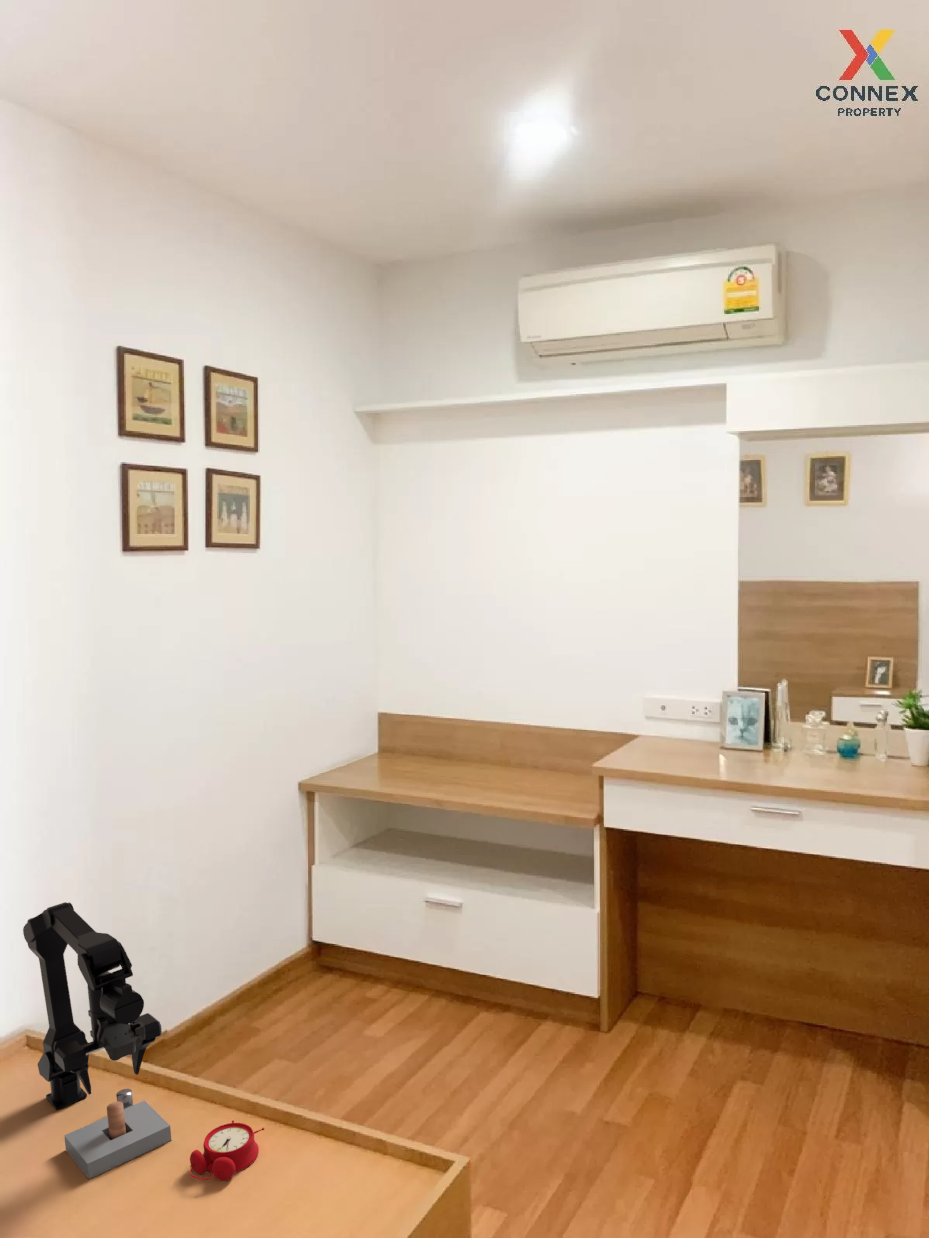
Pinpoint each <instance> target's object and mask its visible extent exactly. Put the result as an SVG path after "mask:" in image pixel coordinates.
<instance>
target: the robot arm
mask: <svg viewBox="0 0 929 1238" xmlns="http://www.w3.org/2000/svg"><path fill="white" fill-rule="evenodd" d="M22 933H23V937H24V940H25V942H26V943H27V946H28V949H29V950H30V951H31V952H32V953H33V954H34V955H35V956H36V957H37V958H38V962H39V968H40V974H41V981H42V987H43V995H44V1000H45V1001H44V1002H45V1006H46V1014H47V1021H48V1029H47V1032H46V1034H45V1036H44V1038H43V1040H42V1041H43V1042H42V1047H43V1053H42V1055H41V1057H40V1059H39V1061H38V1062H37V1068H38V1072H39V1075H40V1076H41V1077H42V1078H43V1079H44V1080H45V1081H47V1082H48V1083H50V1091H51V1092H50V1093H47V1094H46V1095H45V1098H46V1100H47V1101H48V1102H49V1103H50V1104H51V1106H52V1107H53V1108H54V1109H55V1110H59V1109H61V1108H64V1107H66V1106H69V1105H71V1104H73V1103H76V1102H78V1101H80V1100H84V1099H86V1098H87V1097H88V1095H89V1096H90V1095H92V1085H91V1080H90V1075H89V1067H90V1065H89V1060H90V1059H89V1056H90V1055H91V1054H93V1053H95V1052H98V1051H100V1050H103V1049H104V1050H105V1051H106V1053H107V1055H108V1057H109V1060H111V1061H115V1062H116V1061H119V1060H120V1059H122V1058H124V1057H127V1056H131V1061H132V1068H133V1072H134V1074H135V1076H137V1075H139V1074H140V1069H141V1067H142V1062H143V1058H144V1055H145V1053H146V1050H147V1049H148V1047H149V1045H151V1044H152V1043H153V1042H155V1041H156V1038H157V1037H160V1036H161V1035H162V1024H161V1022H160V1021H159V1020H158V1019H157V1018H156V1017H154V1016H153V1015H152V1014H150V1013H149V1012H147V1013H144V1014H142V1012H143V1010H144V1007H145V1001H144V999H143V997H142V995H141V994H140V993H139V992H137V991H135V990H134V989H133V986H132V984H129V983H127V980H126V979H128V978H130V977H134V976H133V975H134V974H133V973H134V972H133V971H132V970H133V969H132V967H133V964H132V962H131V959H130V958H129V956H128V954H127V951H126V950H125V947H124V946H123V945H122V943H121V942H120V941H118V939H116V937H114V936H112V935H111V934H109V933H107V932H106V933H105V932H97V931H96V930H95V929H94V928H93V927H92V926H91V925H90V924H88V922H87V921H85V919H84V918H82V917H81V916H80V914H78V913H77V911H75V909H74V907H73V904H72V903H71V902H69V901H68V902H67V901H66V902H62V903H59V904H55V905H53V906H50V907H47V908H46V909H44V910H43V911H42V912H41V913H39V914H37V915H36V916H34V917H32V918H31V917H30V918H29V919H27V921H26V923H25V924H24V926H23V929H22ZM68 946H69V947H70V948H72V950H73V951H74V952H75V953H76V954H77V959H76V960H77V966H78V969H79V971H80V973H81V975H82V977H83V979H84V980H85V982H86V984H87V996H88V1005H89V1010H87V1013H88V1017H89V1018H90V1025H91V1030H90V1031H89V1033H90V1037H91V1038H92V1041H90V1042H88V1040H87V1039H86V1033H85V1032H84V1031H83V1030H81V1029H80V1027H78V1025H77V1024H75V1022H74V1021H75V1020H74V1016H73V1009H72V1003H71V1002H72V1000H71V997H70V988H69V982H68V975H67V969H66V962H65V952H66V950H67V947H68ZM120 967H121V968H120ZM117 968H120V969H117ZM115 969H117V970H115ZM111 970H115V971H113V972H111ZM81 1083H82V1085H83V1087H84V1089H85V1090H84V1089H83V1088H82V1087H81Z"/></svg>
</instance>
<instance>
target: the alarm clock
mask: <svg viewBox="0 0 929 1238" xmlns="http://www.w3.org/2000/svg"><path fill="white" fill-rule="evenodd" d="M261 1131H265V1128H264V1127H262V1128H260V1129H258V1130H256V1131H254V1130H253V1128H252V1126H250V1125H248V1124H246V1123H242V1122H235V1120H231V1123H226V1124H221V1125H219V1126H217V1127H216V1128H213V1129H212V1130H210V1132H209V1133H207V1135H206V1136H205V1137H204V1140H203V1153H202V1152H201V1151H200V1150H198V1149H195V1150H193V1151H192V1152H191V1154H190V1156H189V1162H190V1163H189V1164H190V1168H191V1169H190V1171H189V1175H190V1177H193V1179H197V1180H200V1181H201V1180H202V1181H207V1180H211V1179H213V1178H215V1179H216V1180H219V1181H229V1180H230V1179H232V1178H233V1176H235V1174H236V1173H237V1172H241V1171H243V1170H244V1169H247V1168H248V1167H249V1166H250V1165H252V1164H253V1163H254V1162H255V1161H256V1159H257V1158H258V1156H259V1150H260V1149H259V1145H258V1143H257V1142H256V1139H255V1134H257V1133H259V1132H261ZM193 1172H194V1173H196V1174H197V1175H203V1174H206V1172H208V1173H210V1174H212V1176H210V1177H199V1176H195V1175H194V1174H193Z"/></svg>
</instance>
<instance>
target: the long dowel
mask: <svg viewBox="0 0 929 1238" xmlns="http://www.w3.org/2000/svg"><path fill="white" fill-rule="evenodd" d="M106 1113H107V1116H108V1126H109V1136H110V1140H113V1139H115V1138H117V1137H120V1136H122V1135H124V1134H126V1128H125V1117H124V1107H123V1103H122V1102H117V1101H114V1102H111V1103H109V1104H108V1105H107V1106H106Z"/></svg>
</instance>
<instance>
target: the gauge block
mask: <svg viewBox="0 0 929 1238" xmlns="http://www.w3.org/2000/svg"><path fill="white" fill-rule="evenodd" d="M124 1117H125V1128H126V1134H124V1135H122V1136H120V1137H117V1138H115V1139H113V1140H110V1136H109V1126H108V1115H107V1116H105V1117H103V1118H101V1119H98V1120H96V1121H94V1122H91V1123H90V1124H86V1125H85V1126H83V1127H80V1128H78V1129H76V1130H73V1131H71V1132H69V1133H66V1134H65V1135H63V1136H64V1137H63V1138H64V1145H65V1151H66V1153H67V1154H69V1155H68V1156H70V1157H71V1158H72V1160H73V1161H74V1162H75V1163H76V1165H77V1166H78V1167H79V1168H80V1171H82V1173H84V1175H85V1176H86V1177H87V1179H88V1180H90V1179H92V1178H94V1177H97V1176H99V1175H101V1174H103V1173H105V1172H107V1171H110V1170H112V1169H113V1168H116V1167H117V1166H120V1165H122V1164H124V1163H127V1162H128V1161H130V1160H131V1161H132V1160H133V1159H134V1158H137V1157H139V1156H141V1155H144V1154H145V1153H148V1152H150V1151H152V1150H154V1149H157V1148H158V1147H161V1146H163V1145H164V1144H167V1143H169V1142H171V1141H172V1131H171V1130H172V1129H171V1125H170V1124H169V1123H168V1121H166V1120H165V1119H164V1118H163V1117H162V1116H161V1115H160V1114H159V1113H158V1112H157V1111H156V1110H155V1109H154V1108H153V1107H152V1105H150V1104H149V1103H148V1102H147V1101H146V1100H141V1101H139V1102H137V1103H134V1104H133V1106H130V1107H128V1108H126V1109H124Z"/></svg>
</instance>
